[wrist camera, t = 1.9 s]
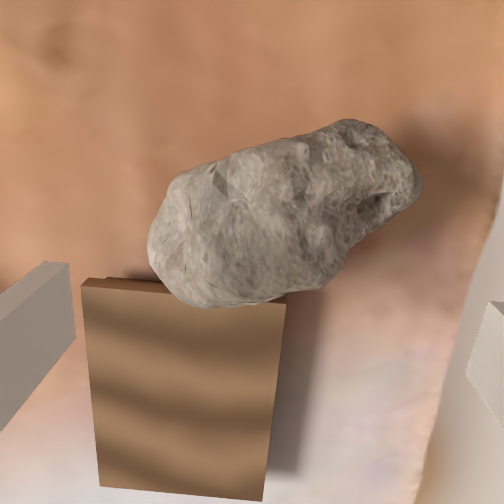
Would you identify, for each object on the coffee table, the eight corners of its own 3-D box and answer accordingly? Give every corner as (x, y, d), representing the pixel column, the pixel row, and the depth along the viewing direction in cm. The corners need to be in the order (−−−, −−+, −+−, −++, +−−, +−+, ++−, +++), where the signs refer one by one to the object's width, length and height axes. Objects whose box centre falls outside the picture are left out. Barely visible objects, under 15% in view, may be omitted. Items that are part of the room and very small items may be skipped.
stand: (99, 266, 28) (80, 285, 26) (285, 282, 28) (286, 304, 25) (113, 454, 35) (99, 486, 32) (262, 468, 35) (262, 501, 32)
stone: (397, 238, 27) (463, 320, 17) (189, 280, 28) (149, 374, 19) (381, 100, 23) (452, 110, 14) (148, 157, 25) (77, 199, 16)
